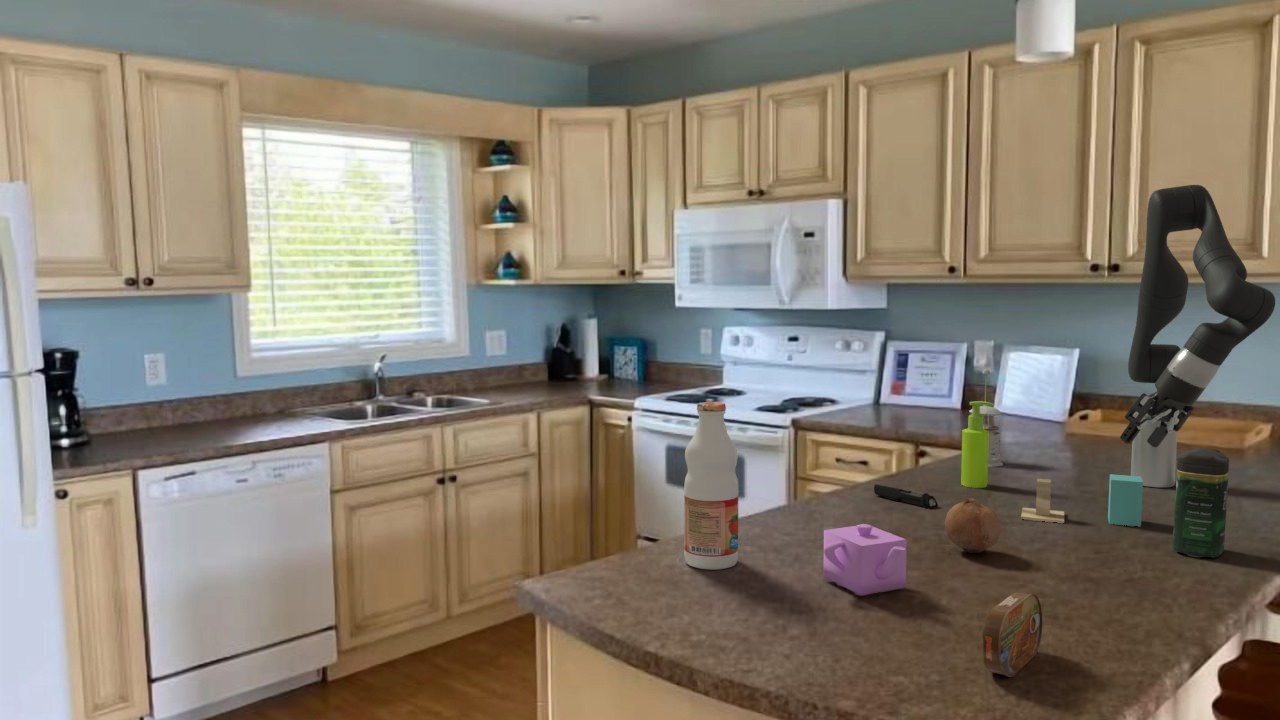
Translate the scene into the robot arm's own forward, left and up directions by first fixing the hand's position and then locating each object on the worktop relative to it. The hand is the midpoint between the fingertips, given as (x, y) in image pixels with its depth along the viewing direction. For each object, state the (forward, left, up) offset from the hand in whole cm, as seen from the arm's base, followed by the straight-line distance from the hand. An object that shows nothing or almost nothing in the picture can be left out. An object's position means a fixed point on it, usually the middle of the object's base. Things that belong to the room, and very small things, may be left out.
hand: (1137, 443), depth 183 cm
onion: (+33, -28, -17) cm, 46 cm away
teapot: (+60, -42, -17) cm, 75 cm away
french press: (-54, -32, -17) cm, 65 cm away
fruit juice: (+56, -69, -17) cm, 91 cm away
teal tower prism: (-1, -2, -16) cm, 17 cm away
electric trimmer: (-2, -45, -17) cm, 48 cm away
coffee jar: (+16, +9, -17) cm, 25 cm away
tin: (+81, -19, -17) cm, 84 cm away
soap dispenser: (-24, -32, -17) cm, 43 cm away
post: (0, -17, -16) cm, 23 cm away
